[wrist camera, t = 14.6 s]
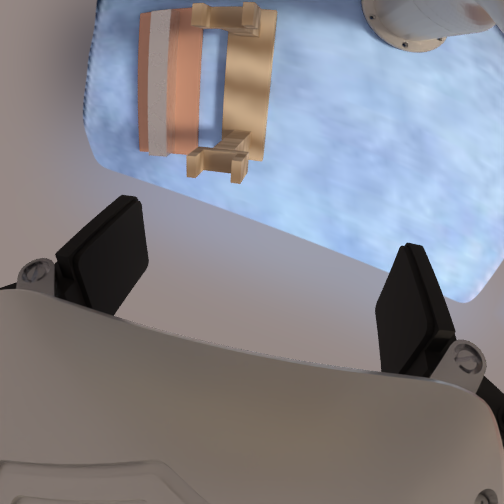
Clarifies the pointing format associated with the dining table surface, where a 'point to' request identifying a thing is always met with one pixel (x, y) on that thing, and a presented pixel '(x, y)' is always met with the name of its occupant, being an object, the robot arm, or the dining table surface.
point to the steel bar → (162, 81)
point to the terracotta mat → (185, 82)
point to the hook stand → (239, 87)
